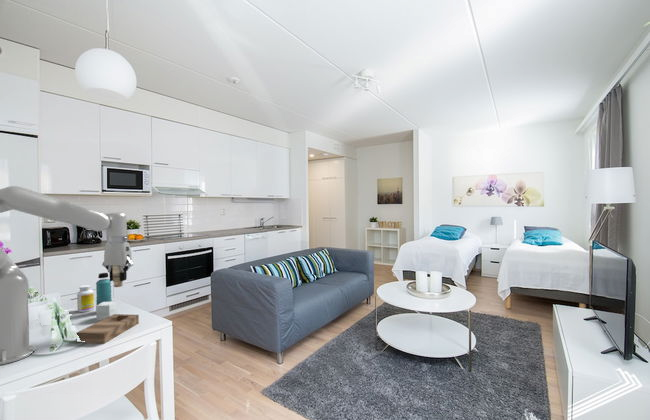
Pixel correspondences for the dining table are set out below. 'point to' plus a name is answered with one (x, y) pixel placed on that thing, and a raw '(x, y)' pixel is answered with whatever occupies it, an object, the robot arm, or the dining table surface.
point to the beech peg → (116, 276)
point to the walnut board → (108, 328)
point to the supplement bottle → (85, 299)
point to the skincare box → (105, 310)
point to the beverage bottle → (103, 289)
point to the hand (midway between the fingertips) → (118, 280)
